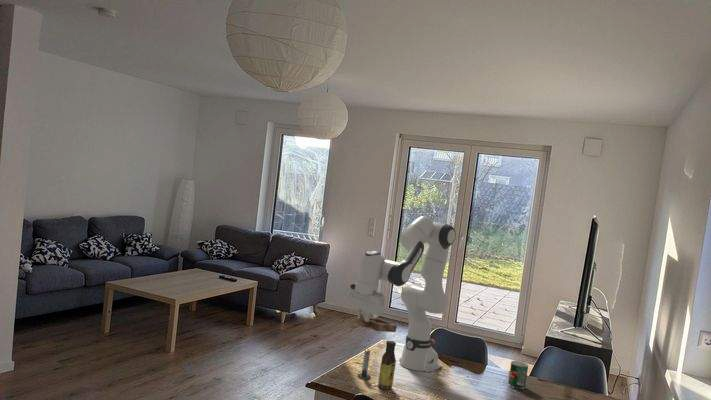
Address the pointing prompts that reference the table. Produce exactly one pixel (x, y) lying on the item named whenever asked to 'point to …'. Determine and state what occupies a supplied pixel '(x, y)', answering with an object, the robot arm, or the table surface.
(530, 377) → the table surface
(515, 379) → the canned tomato
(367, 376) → the grey plunger shape
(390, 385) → the sauce bottle
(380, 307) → the robot arm
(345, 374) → the table surface
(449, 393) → the table surface
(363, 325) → the wooden frame with handle
